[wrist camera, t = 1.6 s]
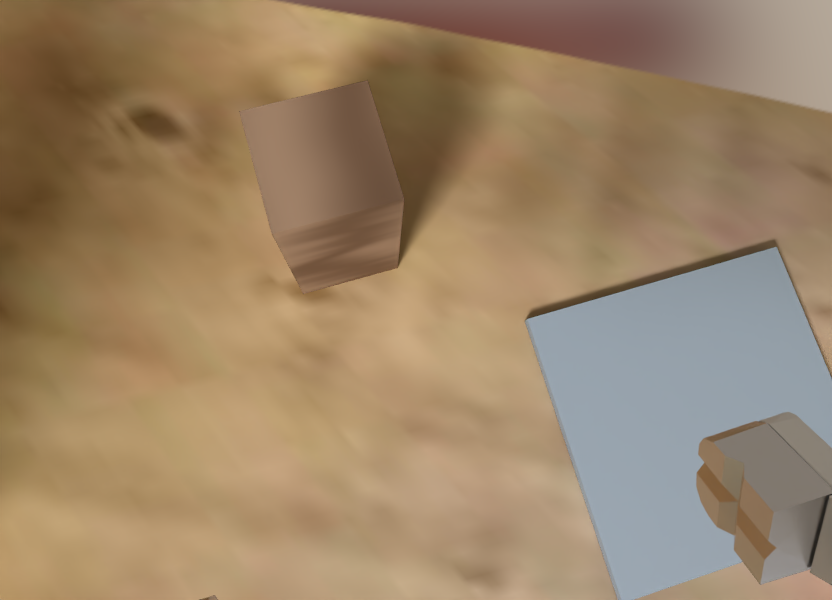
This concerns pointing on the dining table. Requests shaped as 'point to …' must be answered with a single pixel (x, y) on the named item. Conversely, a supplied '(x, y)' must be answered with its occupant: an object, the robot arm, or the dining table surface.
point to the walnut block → (327, 184)
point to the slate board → (674, 403)
